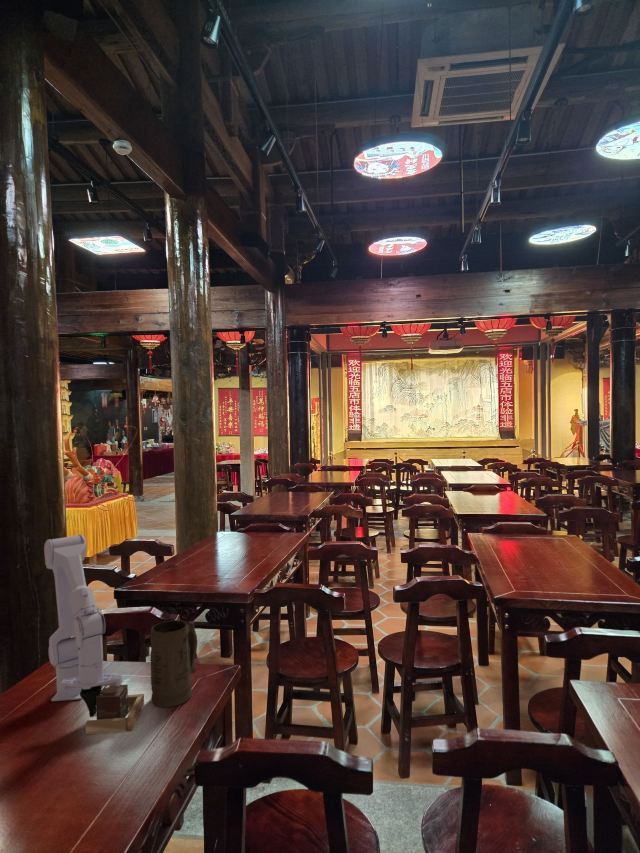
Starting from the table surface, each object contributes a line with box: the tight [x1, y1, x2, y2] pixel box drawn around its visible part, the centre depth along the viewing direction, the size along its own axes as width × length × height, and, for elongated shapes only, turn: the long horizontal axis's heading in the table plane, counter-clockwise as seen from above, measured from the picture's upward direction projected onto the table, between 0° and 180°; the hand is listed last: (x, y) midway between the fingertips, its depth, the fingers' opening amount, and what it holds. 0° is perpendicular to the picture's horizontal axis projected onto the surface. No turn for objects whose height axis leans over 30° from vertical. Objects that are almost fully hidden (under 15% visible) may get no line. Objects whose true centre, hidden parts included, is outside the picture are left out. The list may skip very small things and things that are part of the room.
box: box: [95, 684, 130, 720], centre depth 134 cm, size 6×6×7 cm
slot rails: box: [85, 693, 145, 735], centre depth 134 cm, size 12×11×3 cm
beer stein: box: [149, 619, 198, 708], centre depth 146 cm, size 15×11×20 cm
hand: (93, 714), depth 134 cm, fingers closed
